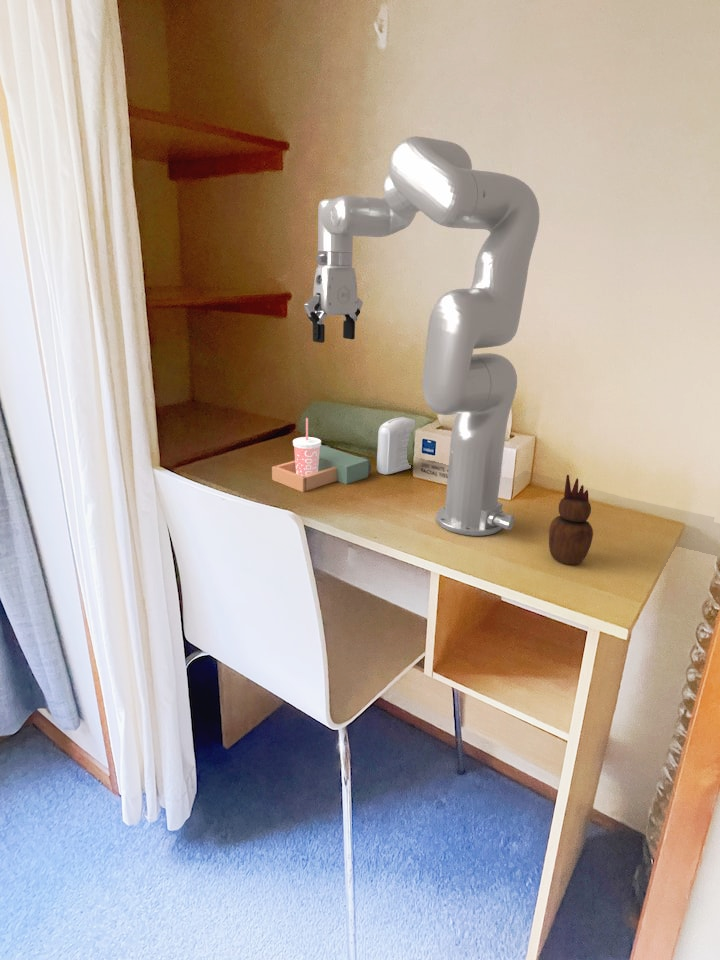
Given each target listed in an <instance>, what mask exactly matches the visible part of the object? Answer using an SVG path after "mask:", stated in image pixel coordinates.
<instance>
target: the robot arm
mask: <svg viewBox="0 0 720 960" xmlns="http://www.w3.org/2000/svg"><path fill="white" fill-rule="evenodd" d="M389 159H390V160H389V165H388V166H389V167H388V173H387V175H386V176H385V179H384V181H383V195H384V197H383V198H379V197H368V196H358V195H357V196H356V195H341V196H338V197H336V198H325V199H322V200H320V202H319V203H318V207H317V209H318V211H317V215H318V216H317V217H318V218H317V219H318V220H317V222H318V225H317V226H318V227H317V233H318V234H317V243H318V244H317V255H316V256H315V260H316V262H317V267H316V269H315V275H314V281H313V295H312V297H311V298H310V299H309V300H308V301H306V302H305V303H304V304H303V306H304V307H303V308H304V309H305V313H306V316H307V318H308V319H309V320H310V323H311V324H312V341H313V342H314V343H321V344H323V343H325V341H326V340H325V335H326V333H325V329H326V327H325V324H324V322H325V321H324V320H326V318H327V316H342V315H343V318H344V320H343V323H342V324H343V325H342V326H343V327H342V337H343V339H346V340H354V339H356V338H355V337H356V334H355V333H356V322H357V321H358V316H359V315H360V313H361V310H362V306H363V303H364V302H363V300H361V299H360V298H359V297H358V284H357V283H358V282H357V274H356V269H355V268H354V267H353V250H354V249H353V247H354V243H353V241H354V237H366V238H367V237H371V238H383V237H388V236H391V235H394V234H396V233H398V232H400V231H403V230H405V229H406V228H408V227H409V226H410V225H411V224H412V222H413V221H414V219H415V218H416V215H417V213H419V212H421V213H423V214H424V215H425V216H426V217H428V218H429V219H430V220H431V221H433V222H435V223H436V224H438V225H440V226H443V227H446V228H453V229H469V230H487V231H488V232H489V235H488V237H487V238H486V239H485V241H484V242H483V244H482V245H481V248H480V250H479V252H478V254H477V256H476V260H475V264H474V272H473V273H474V274H473V278H472V284H471V287H470V288H456V289H452V290H449V291H446V292H445V293H444V294H442V295H441V296H440V298H438V300H437V301H436V302H435V304H434V307H433V308H432V310H431V313H430V315H429V320H428V328H427V333H426V334H427V335H426V344H425V352H424V360H423V368H422V369H423V370H422V379H421V380H422V383H421V384H422V385H421V386H422V387H421V388H422V394H423V398H424V401H425V403H426V405H427V406H428V408H429V409H430V410H431V411H432V412H434V413H435V414H439V415H442V416H443V415H444V416H450V415H456V416H455V418H454V420H453V424H452V429H451V436H450V445H449V446H450V447H449V448H450V449H449V457H448V459H449V460H448V471H447V483H446V493H445V494H446V495H445V496H446V497H445V505H444V506H443V507H441V508H440V509H439V510H437V512H436V513H435V514H436V515H435V520H436V523H437V524H438V525H439V526H440V527H441V528H443V529H445V530H447V531H449V532H452V533H455V534H460V535H465V536H472V537H473V536H475V537H476V536H477V537H479V536H480V537H481V536H483V537H484V536H489V535H494V534H496V533H498V532H500V531H502V529H505V530H507V531H511V530H512V529H513V526H514V523H515V522H514V519H515V515H512V514H510V513H505V512H504V511H503V503H502V502H500V501H499V491H500V484H501V483H500V482H501V474H502V467H503V457H504V456H503V455H504V448H505V442H506V433H507V426H508V421H509V417H510V416H509V415H510V412H511V409H512V406H513V403H514V399H515V398H516V397H515V395H516V392H517V388H518V376H517V371H516V368H515V367H514V365H513V363H512V362H511V361H510V360H509V359H508V358H507V357H505V356H503V355H501V354H496V353H492V352H491V353H488V352H487V353H483V352H482V353H473V352H474V350H475V349H484V348H485V349H486V348H493V347H500V346H504V345H506V344H508V343H509V342H511V341H513V338H515V336H516V334H517V332H518V328H519V324H520V319H521V314H522V308H523V302H524V296H525V291H526V286H527V280H528V272H529V266H530V261H531V256H532V254H533V249H534V246H535V242H536V240H537V239H536V238H537V235H538V232H539V226H540V215H541V214H540V207H539V203H538V199H537V197H536V195H535V193H534V191H533V190H532V188H531V187H530V186H529V185H528V184H527V183H525V182H524V181H522V180H521V179H520V178H517V177H515V176H511V175H508V174H505V173H499V172H494V171H487V170H485V171H484V170H478V169H477V170H475V169H473V165H472V160H471V157H470V155H469V154H468V151H466V149H464V147H462V146H461V145H459V144H457V143H455V142H452V141H448V140H441V139H438V138H437V139H435V138H430V137H425V136H418V135H417V136H409V137H407V138H406V139H403V140H402V141H400V142H399V144H397V146H396V147H395V148H394V150H393V151H392V154H391V157H390V158H389ZM498 501H499V502H498Z"/></svg>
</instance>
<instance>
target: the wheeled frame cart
mask: <svg viewBox="0 0 720 960" xmlns="http://www.w3.org/2000/svg"><path fill="white" fill-rule="evenodd" d="M371 471H372V462H371V460H370V459H369V458H368V457H366V456H361V457H360V456H357V455H354V454H351V453H348V452H345V451H342V450H339V449H335V448H334V447H333V448H332V447H331V446H330V445H329V444H326V445H325V444H324V445H323V444H321V446H320V451H319V465H318V472H315V473H312V474H309V475H306V476H301V475H298V474H296V466H295V460H292V461H288V462H284V463H280V464H277V465H274V466H271V480H272V481H274V482H276V483H280V484H281V485H283V486H287V487H289V488H292V489H294V490H296V491H299V492H302V493H304V492H307V491H310V490H313V489H316V488H320V487H322V486H326V485H328V484H332V483H334V482H338V483H342V484H344V485H348V484H352V483H354V482H357V481H361V480H363V479H366V478H368V477H369V473H371Z"/></svg>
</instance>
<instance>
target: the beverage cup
mask: <svg viewBox="0 0 720 960" xmlns="http://www.w3.org/2000/svg"><path fill="white" fill-rule="evenodd" d="M321 445H322V440H321V439H319V438H318V437H313V436H312V437H311V436H309V418H308V417H306V418H305V436H301V437H297V438H294V439H293V440H292V446H293V448H294V449H293V450H294V461H295V466H296V474H298V475H301V476H306V475H309V474H312V473H315V472H318V465H319V451H320V446H321Z"/></svg>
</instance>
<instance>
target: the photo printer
mask: <svg viewBox="0 0 720 960" xmlns="http://www.w3.org/2000/svg"><path fill="white" fill-rule="evenodd" d="M415 422H416V421H415V419H413V418H409V417H405V416H404V417H402V416H401V417H400V416H399V417H395V418H391V419H389V420H387V421H385V422H383V424H381V425H380V426H379V428H378V430H377V431H378V435H377V450H376V451H377V453H376V454H377V455H376V471H377V472H378V473H379V474H381V475H391V474H394V473H399V472H402V471H405V470H409V469H412V468H411V465H409V463H408V460H407V445H408V441H409V436H410V433H411V431H412V430H413V428H414V427H415Z"/></svg>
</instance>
